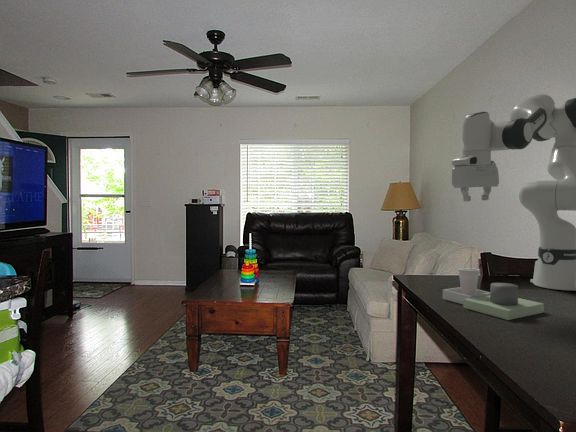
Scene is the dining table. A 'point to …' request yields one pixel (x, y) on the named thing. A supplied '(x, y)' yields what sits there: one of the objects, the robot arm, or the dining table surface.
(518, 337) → the dining table surface
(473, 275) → the smoothie
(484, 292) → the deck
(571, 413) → the dining table surface
